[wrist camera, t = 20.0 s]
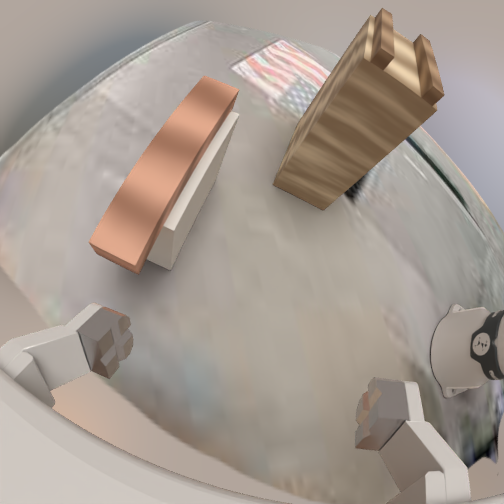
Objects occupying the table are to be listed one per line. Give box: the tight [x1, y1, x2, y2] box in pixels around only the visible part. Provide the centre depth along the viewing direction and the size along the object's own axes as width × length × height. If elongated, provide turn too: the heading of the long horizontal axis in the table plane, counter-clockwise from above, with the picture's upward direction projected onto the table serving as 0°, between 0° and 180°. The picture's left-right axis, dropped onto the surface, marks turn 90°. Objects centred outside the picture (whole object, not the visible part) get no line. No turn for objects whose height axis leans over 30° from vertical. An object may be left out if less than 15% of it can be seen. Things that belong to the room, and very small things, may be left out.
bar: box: [89, 76, 239, 275], centre depth 25 cm, size 20×4×3 cm, turn 160°
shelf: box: [147, 111, 240, 271], centre depth 34 cm, size 15×6×14 cm, turn 159°
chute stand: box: [273, 8, 444, 210], centre depth 36 cm, size 15×9×28 cm, turn 159°
